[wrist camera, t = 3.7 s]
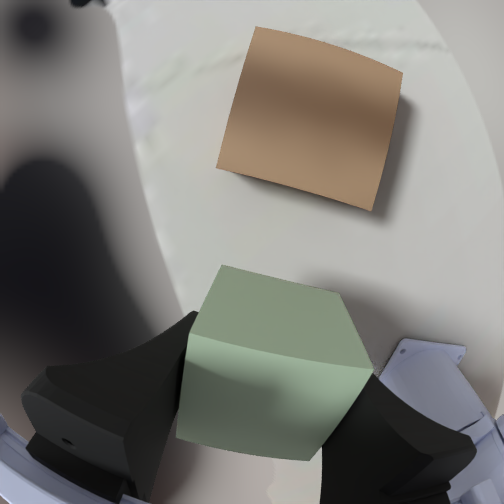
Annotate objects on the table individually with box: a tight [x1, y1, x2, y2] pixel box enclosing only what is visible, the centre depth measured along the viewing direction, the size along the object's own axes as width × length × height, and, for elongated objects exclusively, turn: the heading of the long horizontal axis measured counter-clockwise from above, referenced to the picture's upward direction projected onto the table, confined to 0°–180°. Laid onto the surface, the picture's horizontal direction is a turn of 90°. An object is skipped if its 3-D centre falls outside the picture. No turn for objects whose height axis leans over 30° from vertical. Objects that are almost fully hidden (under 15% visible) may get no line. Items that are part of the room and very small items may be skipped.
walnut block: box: [216, 27, 403, 211], centre depth 13 cm, size 8×8×3 cm
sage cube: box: [176, 265, 374, 461], centre depth 10 cm, size 5×5×5 cm
